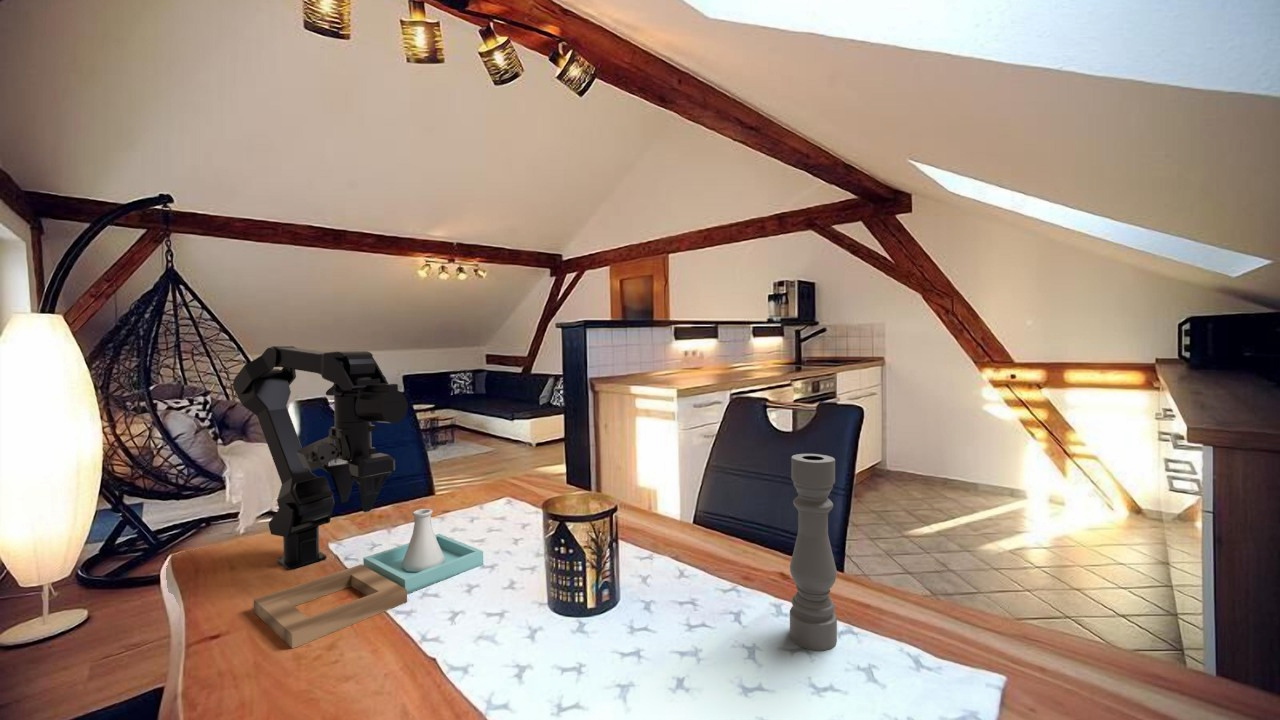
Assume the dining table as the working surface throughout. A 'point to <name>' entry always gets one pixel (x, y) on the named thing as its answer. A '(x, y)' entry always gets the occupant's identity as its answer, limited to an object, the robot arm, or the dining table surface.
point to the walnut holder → (302, 629)
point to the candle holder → (813, 554)
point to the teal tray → (456, 562)
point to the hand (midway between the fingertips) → (355, 506)
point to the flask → (422, 545)
